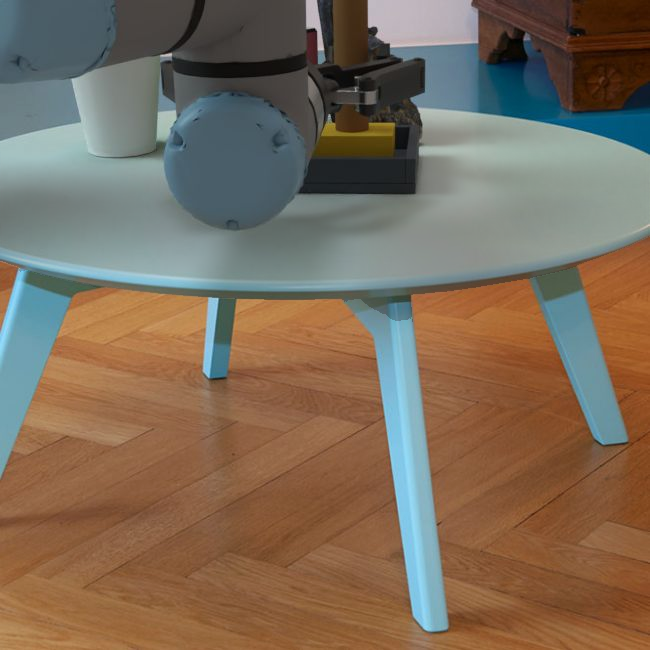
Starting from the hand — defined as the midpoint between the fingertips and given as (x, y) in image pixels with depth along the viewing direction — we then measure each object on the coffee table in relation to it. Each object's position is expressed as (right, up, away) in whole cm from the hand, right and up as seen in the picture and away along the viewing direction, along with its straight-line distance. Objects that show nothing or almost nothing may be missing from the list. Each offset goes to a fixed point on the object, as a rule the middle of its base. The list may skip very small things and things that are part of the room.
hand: (303, 60), depth 94 cm
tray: (+1, -9, +3) cm, 9 cm away
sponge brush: (+4, -8, +3) cm, 9 cm away
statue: (+6, -4, +15) cm, 17 cm away
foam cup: (-17, -6, +13) cm, 22 cm away
